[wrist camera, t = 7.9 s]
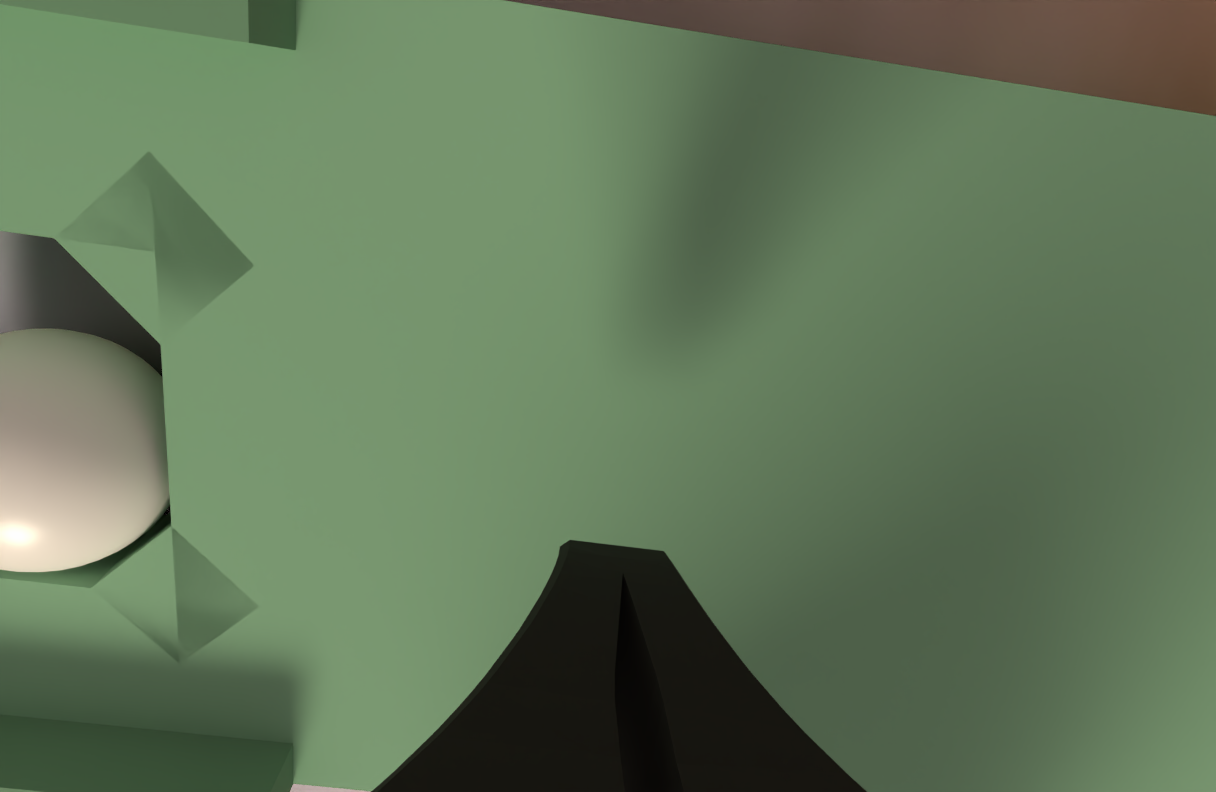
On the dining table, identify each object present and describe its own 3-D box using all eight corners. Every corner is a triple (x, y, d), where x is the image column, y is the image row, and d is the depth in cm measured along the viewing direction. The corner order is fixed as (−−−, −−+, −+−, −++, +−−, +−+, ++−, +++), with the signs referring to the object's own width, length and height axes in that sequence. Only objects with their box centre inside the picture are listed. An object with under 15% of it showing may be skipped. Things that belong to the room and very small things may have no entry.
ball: (173, 614, 14) (-136, 639, 11) (125, 478, 16) (-139, 469, 13) (250, 428, 13) (-70, 399, 10) (186, 312, 15) (-87, 260, 12)
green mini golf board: (1104, 771, 18) (1255, 969, 14) (-240, 631, 16) (-526, 813, 12) (1399, 160, 14) (1762, 187, 9) (-463, -141, 12) (-1064, -277, 7)
